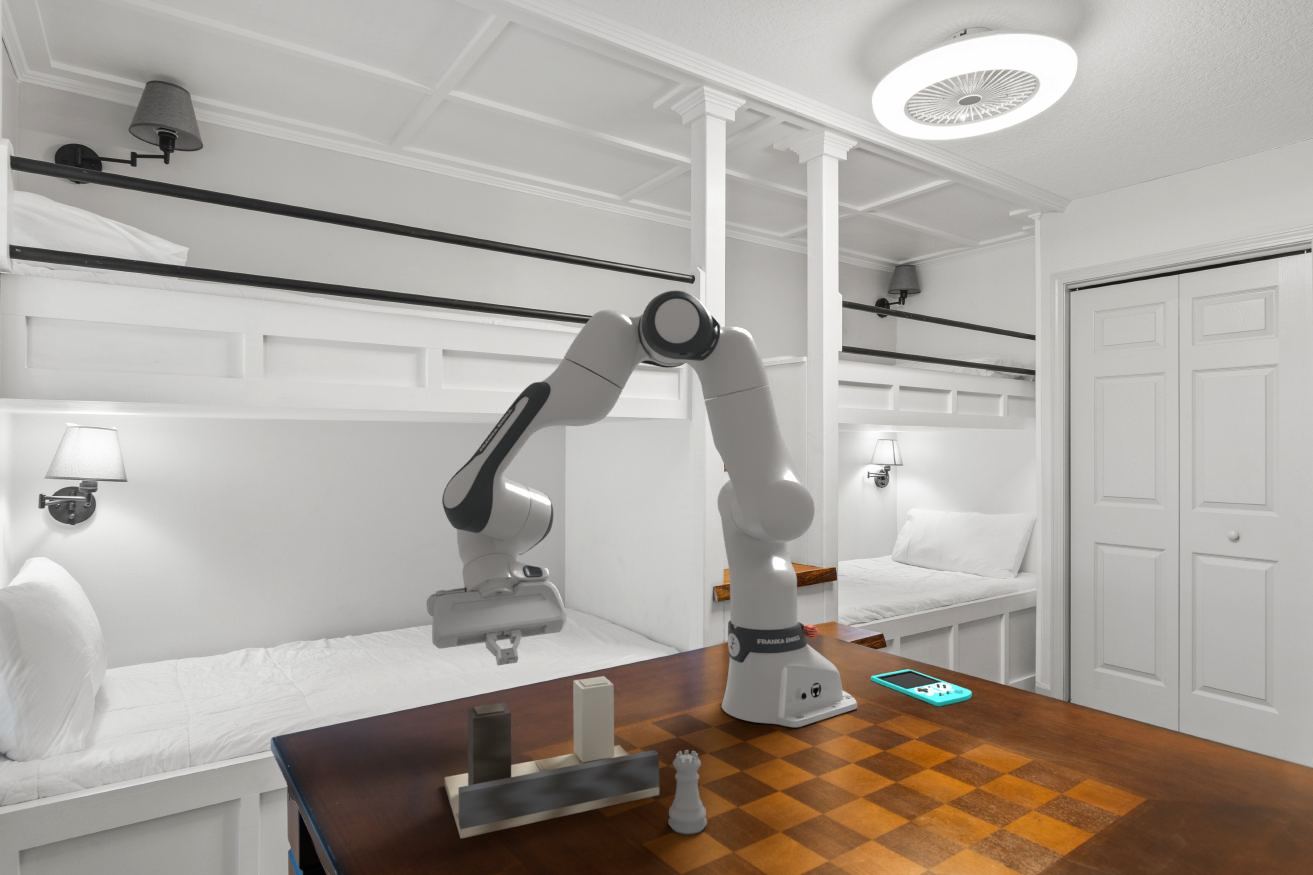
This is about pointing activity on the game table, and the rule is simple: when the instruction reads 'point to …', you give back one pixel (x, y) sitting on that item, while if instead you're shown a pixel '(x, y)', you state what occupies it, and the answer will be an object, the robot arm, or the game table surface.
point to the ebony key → (489, 743)
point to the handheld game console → (923, 687)
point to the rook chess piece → (687, 796)
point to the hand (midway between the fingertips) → (507, 662)
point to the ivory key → (593, 718)
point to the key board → (551, 790)
